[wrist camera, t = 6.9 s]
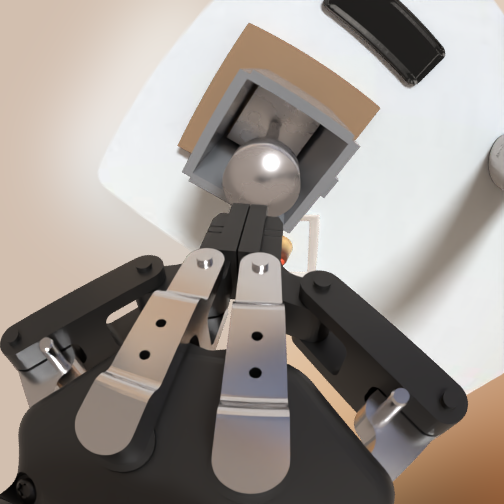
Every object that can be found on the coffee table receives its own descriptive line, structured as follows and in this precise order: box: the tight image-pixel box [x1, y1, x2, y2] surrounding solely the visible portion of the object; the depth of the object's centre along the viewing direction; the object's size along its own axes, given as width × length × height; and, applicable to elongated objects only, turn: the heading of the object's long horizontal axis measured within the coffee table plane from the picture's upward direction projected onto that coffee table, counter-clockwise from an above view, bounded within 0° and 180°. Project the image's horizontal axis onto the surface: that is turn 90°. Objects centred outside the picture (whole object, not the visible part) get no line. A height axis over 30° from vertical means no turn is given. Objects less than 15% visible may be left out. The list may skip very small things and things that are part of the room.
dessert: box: [281, 215, 320, 277], centre depth 43 cm, size 12×12×5 cm
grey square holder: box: [178, 23, 380, 233], centre depth 27 cm, size 18×18×16 cm
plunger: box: [222, 86, 320, 217], centre depth 23 cm, size 8×8×17 cm
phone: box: [324, 0, 445, 84], centre depth 23 cm, size 8×1×15 cm
